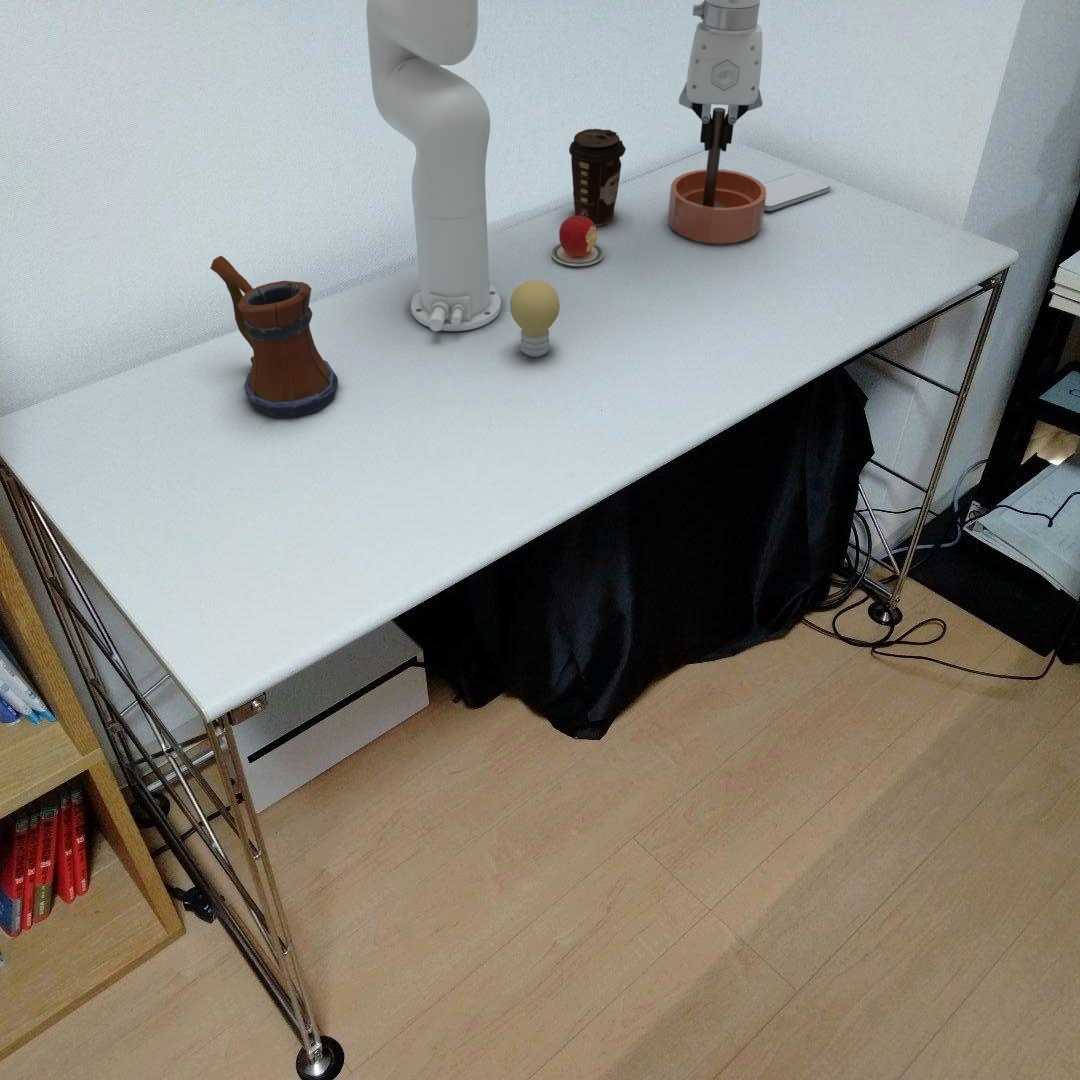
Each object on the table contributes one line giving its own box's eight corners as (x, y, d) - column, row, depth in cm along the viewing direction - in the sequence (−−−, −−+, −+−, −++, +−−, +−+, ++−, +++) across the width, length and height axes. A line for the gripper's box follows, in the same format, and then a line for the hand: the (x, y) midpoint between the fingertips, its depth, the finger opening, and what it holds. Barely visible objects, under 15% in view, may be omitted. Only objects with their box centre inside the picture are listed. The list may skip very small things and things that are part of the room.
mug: (201, 372, 134) (172, 267, 124) (276, 338, 140) (255, 235, 130) (281, 432, 124) (257, 323, 114) (357, 393, 130) (341, 286, 120)
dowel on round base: (725, 228, 161) (739, 117, 149) (689, 226, 161) (700, 116, 149) (723, 212, 165) (737, 103, 153) (688, 210, 165) (699, 102, 154)
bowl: (763, 248, 158) (769, 211, 154) (668, 244, 159) (671, 207, 155) (757, 206, 169) (762, 170, 165) (667, 203, 170) (670, 167, 166)
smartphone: (832, 186, 173) (769, 207, 166) (831, 193, 173) (767, 214, 167) (800, 171, 177) (736, 191, 170) (798, 178, 178) (735, 198, 171)
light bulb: (517, 368, 134) (516, 299, 128) (505, 342, 139) (504, 275, 132) (565, 361, 136) (566, 292, 129) (551, 335, 140) (552, 268, 133)
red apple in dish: (602, 243, 160) (603, 202, 155) (605, 268, 154) (607, 227, 149) (550, 243, 160) (550, 203, 155) (551, 268, 154) (552, 227, 149)
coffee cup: (622, 207, 169) (627, 127, 160) (620, 230, 163) (625, 149, 154) (569, 205, 170) (571, 125, 161) (565, 228, 163) (567, 146, 155)
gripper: (673, 22, 140) (662, 156, 153) (791, 25, 139) (770, 159, 152) (672, 5, 146) (661, 136, 158) (785, 8, 145) (766, 139, 157)
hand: (715, 146), depth 155 cm, fingers closed on dowel on round base
